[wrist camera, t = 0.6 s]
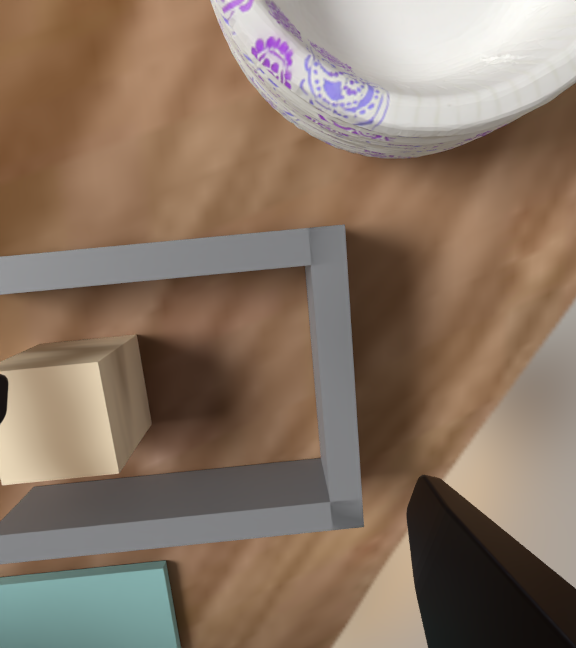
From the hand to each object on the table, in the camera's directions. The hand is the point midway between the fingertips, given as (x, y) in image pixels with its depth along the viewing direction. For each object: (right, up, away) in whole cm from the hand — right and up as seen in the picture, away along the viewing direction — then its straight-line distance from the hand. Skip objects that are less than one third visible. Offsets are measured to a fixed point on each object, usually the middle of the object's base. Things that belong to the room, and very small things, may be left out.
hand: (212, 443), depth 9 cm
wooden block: (-8, -1, +13) cm, 16 cm away
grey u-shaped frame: (-4, 0, +13) cm, 14 cm away
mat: (-11, -18, +17) cm, 27 cm away
